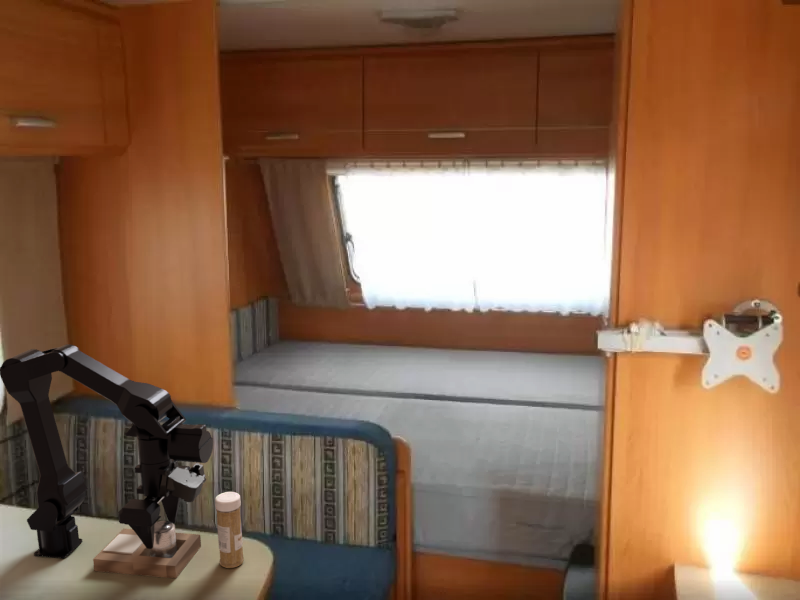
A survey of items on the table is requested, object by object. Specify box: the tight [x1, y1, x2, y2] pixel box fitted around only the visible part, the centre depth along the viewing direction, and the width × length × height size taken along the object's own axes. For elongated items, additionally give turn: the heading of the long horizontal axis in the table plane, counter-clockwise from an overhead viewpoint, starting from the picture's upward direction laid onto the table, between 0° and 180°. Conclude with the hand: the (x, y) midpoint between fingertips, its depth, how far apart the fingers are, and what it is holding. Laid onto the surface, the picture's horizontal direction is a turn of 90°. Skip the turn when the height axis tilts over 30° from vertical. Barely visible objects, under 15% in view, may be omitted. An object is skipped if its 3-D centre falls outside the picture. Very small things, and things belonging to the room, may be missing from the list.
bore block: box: [92, 528, 202, 579], centre depth 144 cm, size 16×11×3 cm
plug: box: [150, 520, 177, 558], centre depth 143 cm, size 5×5×7 cm
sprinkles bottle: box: [214, 491, 245, 569], centre depth 142 cm, size 5×5×13 cm
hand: (161, 535), depth 143 cm, fingers open, 9 cm apart
